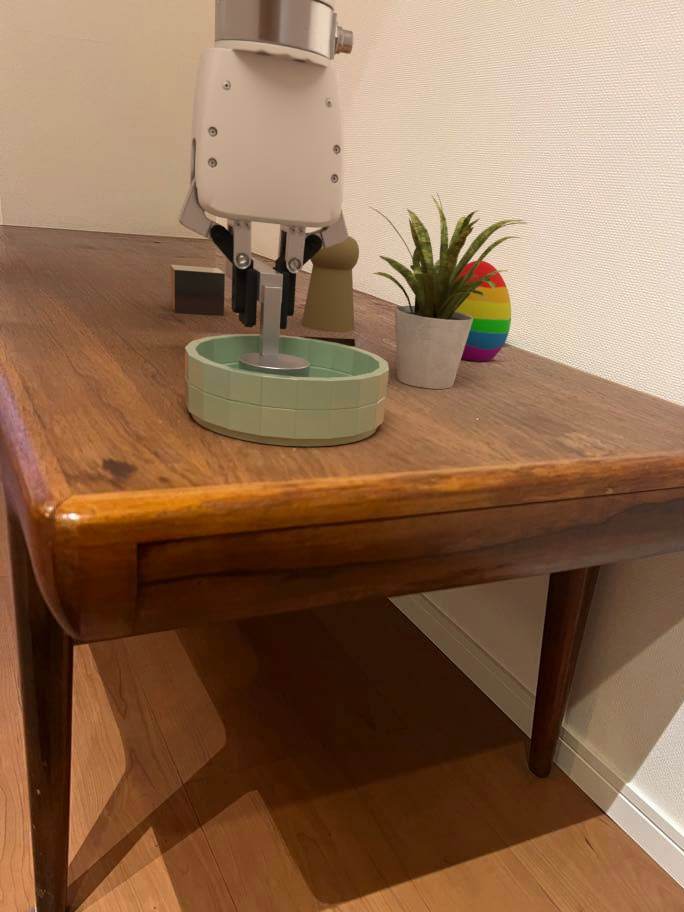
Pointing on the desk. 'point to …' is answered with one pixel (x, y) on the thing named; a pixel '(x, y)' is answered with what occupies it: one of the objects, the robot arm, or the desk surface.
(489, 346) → the decorative egg
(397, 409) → the desk surface
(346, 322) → the cork
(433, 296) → the house plant
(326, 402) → the bowl
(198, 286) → the dark wooden cube
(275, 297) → the silver stamp handle
